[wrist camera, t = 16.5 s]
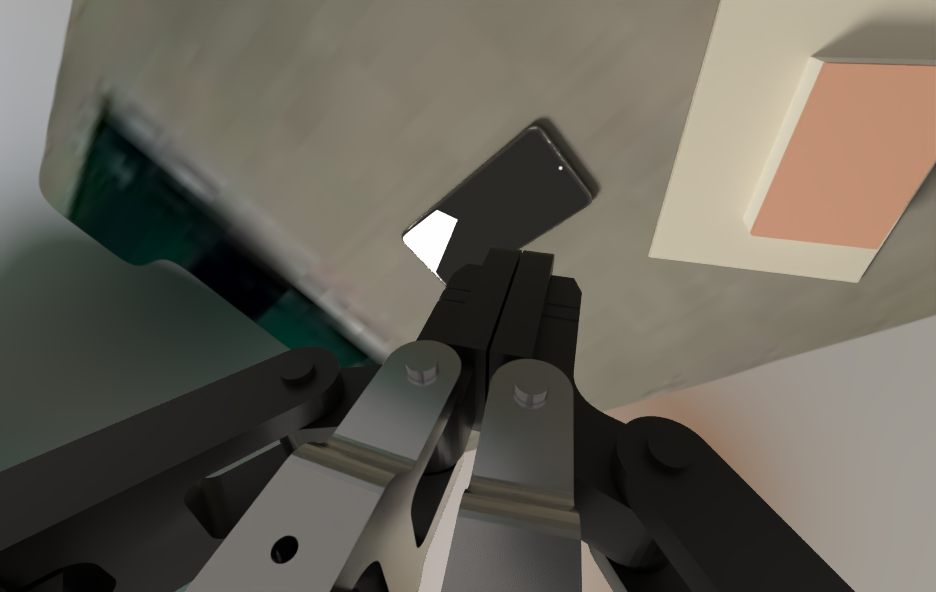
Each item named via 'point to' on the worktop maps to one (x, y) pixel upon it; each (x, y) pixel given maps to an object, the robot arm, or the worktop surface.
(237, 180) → the worktop surface
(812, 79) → the block
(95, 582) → the robot arm
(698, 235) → the mat
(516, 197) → the smartphone
